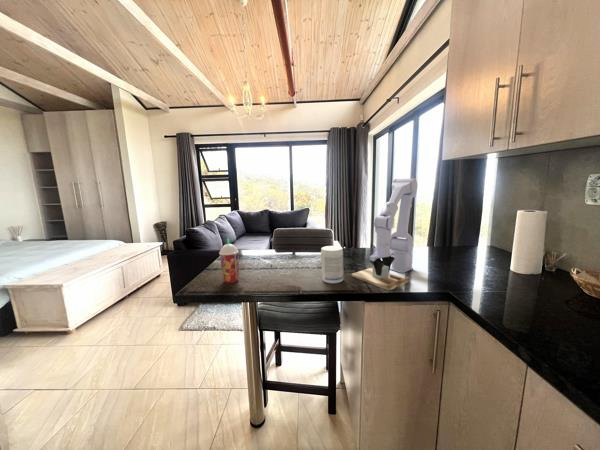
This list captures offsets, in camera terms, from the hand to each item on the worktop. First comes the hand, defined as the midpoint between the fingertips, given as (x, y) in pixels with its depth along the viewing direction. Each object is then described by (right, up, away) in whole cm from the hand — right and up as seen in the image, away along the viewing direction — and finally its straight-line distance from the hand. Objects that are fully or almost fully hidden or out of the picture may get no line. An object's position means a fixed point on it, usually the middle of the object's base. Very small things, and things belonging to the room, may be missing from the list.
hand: (382, 273), depth 105 cm
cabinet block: (-1, -2, +1) cm, 2 cm away
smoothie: (-67, -4, +4) cm, 68 cm away
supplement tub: (-22, -3, +2) cm, 22 cm away
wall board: (-1, -3, +2) cm, 3 cm away
